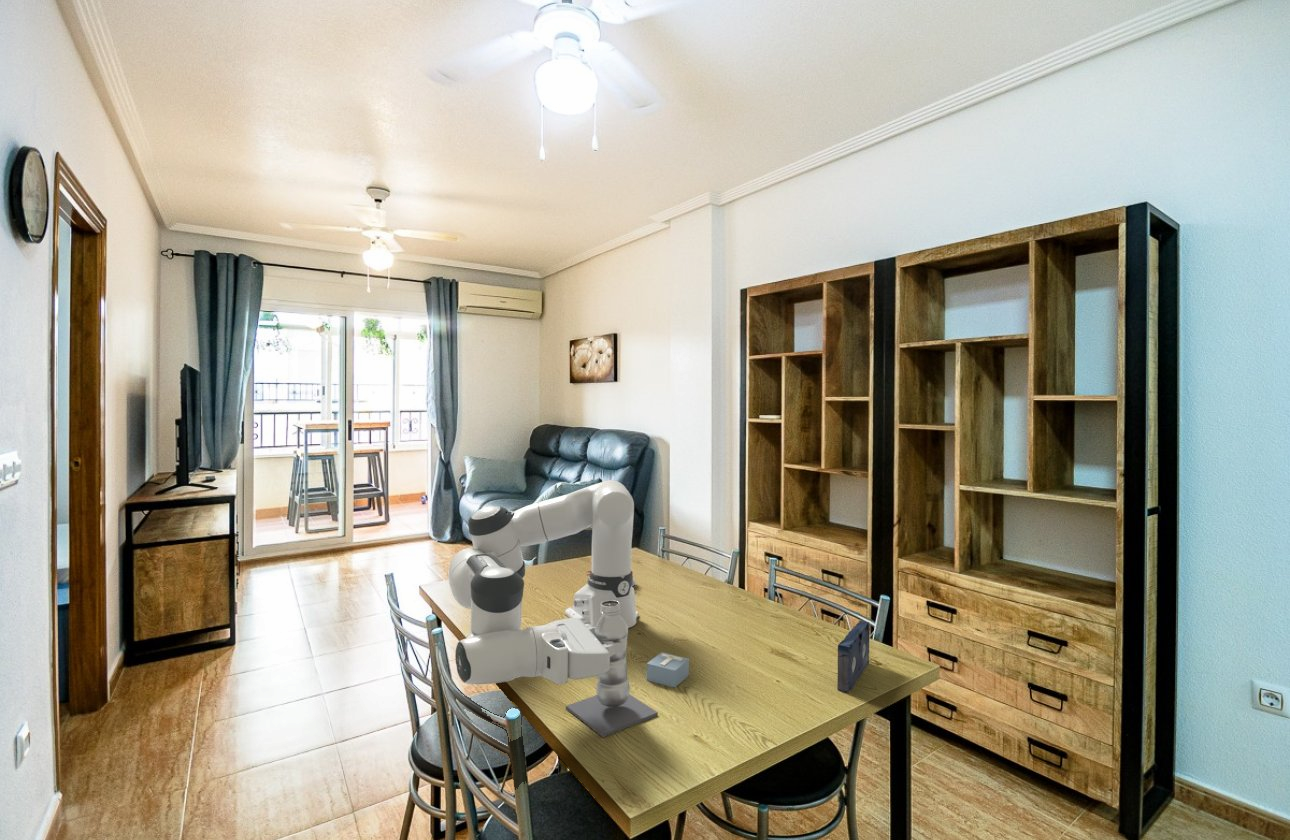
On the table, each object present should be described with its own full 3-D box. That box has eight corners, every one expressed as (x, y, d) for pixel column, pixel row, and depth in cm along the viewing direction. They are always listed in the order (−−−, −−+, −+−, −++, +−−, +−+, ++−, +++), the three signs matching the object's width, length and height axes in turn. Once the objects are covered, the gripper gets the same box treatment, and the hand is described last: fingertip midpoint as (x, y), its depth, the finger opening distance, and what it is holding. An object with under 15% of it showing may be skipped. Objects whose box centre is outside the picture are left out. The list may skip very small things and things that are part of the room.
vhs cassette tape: (858, 660, 144) (859, 619, 144) (871, 664, 142) (872, 622, 142) (834, 690, 129) (835, 644, 129) (848, 694, 127) (849, 647, 127)
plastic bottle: (596, 695, 122) (592, 598, 120) (629, 693, 122) (626, 596, 121) (596, 712, 115) (592, 610, 114) (631, 709, 116) (628, 608, 115)
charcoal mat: (565, 708, 119) (565, 705, 119) (618, 690, 128) (618, 687, 128) (602, 737, 109) (602, 734, 109) (657, 715, 117) (657, 712, 117)
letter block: (646, 681, 132) (646, 662, 132) (661, 669, 138) (661, 650, 138) (674, 688, 129) (675, 669, 129) (688, 676, 135) (689, 657, 135)
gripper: (534, 645, 122) (598, 635, 128) (561, 689, 104) (635, 676, 109) (534, 614, 122) (599, 606, 128) (561, 653, 103) (635, 641, 109)
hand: (616, 638), depth 118 cm, fingers closed on plastic bottle, 6 cm apart
